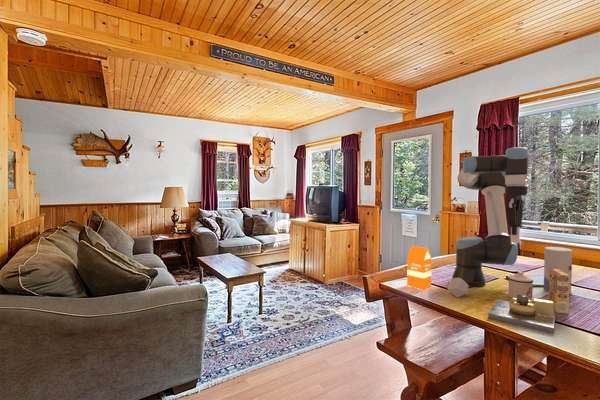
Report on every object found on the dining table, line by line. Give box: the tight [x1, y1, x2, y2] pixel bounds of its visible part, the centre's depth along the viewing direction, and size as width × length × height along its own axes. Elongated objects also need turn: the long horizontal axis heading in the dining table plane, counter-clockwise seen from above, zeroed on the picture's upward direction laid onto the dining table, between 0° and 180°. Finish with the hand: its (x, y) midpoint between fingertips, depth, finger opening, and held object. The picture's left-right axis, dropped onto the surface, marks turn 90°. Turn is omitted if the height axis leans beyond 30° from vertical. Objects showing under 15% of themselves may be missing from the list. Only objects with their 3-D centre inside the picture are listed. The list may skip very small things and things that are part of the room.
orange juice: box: [406, 245, 432, 291], centre depth 154 cm, size 8×9×20 cm
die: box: [447, 277, 470, 298], centre depth 141 cm, size 8×9×10 cm
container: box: [543, 246, 573, 294], centre depth 146 cm, size 10×10×20 cm
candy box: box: [548, 269, 570, 315], centre depth 124 cm, size 9×4×15 cm, turn 159°
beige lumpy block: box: [509, 298, 554, 317], centre depth 116 cm, size 13×8×5 cm, turn 62°
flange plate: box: [487, 294, 557, 334], centre depth 117 cm, size 19×19×8 cm
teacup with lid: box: [507, 271, 534, 301], centre depth 138 cm, size 12×9×12 cm
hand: (515, 242), depth 128 cm, fingers closed
